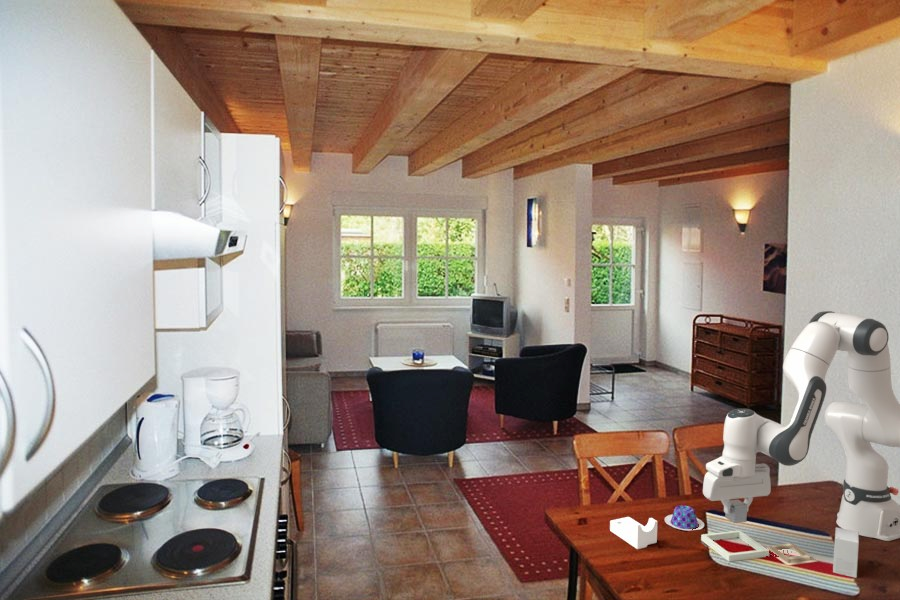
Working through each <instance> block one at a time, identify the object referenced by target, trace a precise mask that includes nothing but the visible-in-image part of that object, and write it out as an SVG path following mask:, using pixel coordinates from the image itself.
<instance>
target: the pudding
mask: <svg viewBox="0 0 900 600" xmlns="http://www.w3.org/2000/svg"><path fill="white" fill-rule="evenodd" d="M664 522H665V523H666V524H667V525H668V526H670V527H672V528H674V529H678V530H682V531H696V530H697V531H698V530H702V529H703V528H704V527H705V523H704V522H703V520H701V519H699V518H698V517H697V515H696V510H695V509H694V508H693V507H691V506H687V505H681V504H680V505H677V506H675V508H674V510H673V513H672V514H669V515H667V516H665V517H664ZM698 524H699V527H698ZM696 527H698V528H696ZM693 528H696V529H693ZM692 529H693V530H692Z"/></svg>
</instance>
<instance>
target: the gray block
mask: <svg viewBox="0 0 900 600" xmlns="http://www.w3.org/2000/svg"><path fill="white" fill-rule="evenodd" d="M743 502H744V501H741V500H739V499H730V501H729V503H728V505H729V506H730V507H732V513H728V514H727V513H725V515H724V517H725V518H726V519H728V520H729V521H730V522H732V523H733V524H738V523H746V522H747V516H748V512H747V505H746V504H745V503H743Z"/></svg>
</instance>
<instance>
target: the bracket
mask: <svg viewBox="0 0 900 600" xmlns="http://www.w3.org/2000/svg"><path fill="white" fill-rule="evenodd" d="M609 530H610V532H611V533H613V534H614V535H616V537H619V538H620V539H622V540H623V541H625V542H626V543H628V544H629V545H630V546H632V547H634V548H635V549H636V550H640V549H644V548H648V545H652V544H656V543H657V540H658V520H656V519H654V518H653V517H648V521H647V524H645V526H644V525H643V524H642V523H640V522H638V521H637V520H635V519H634V518H632V517H630V516H626V517H621V518H616V519H612V520H610V521H609Z"/></svg>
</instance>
